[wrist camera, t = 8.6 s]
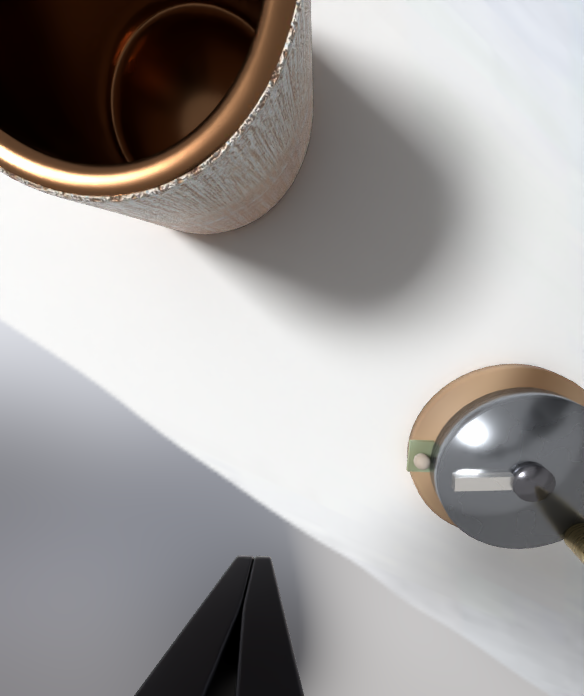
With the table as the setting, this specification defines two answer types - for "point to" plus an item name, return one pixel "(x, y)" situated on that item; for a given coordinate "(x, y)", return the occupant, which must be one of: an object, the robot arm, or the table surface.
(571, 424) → the dial
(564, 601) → the table surface
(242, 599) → the robot arm
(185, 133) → the planter
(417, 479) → the stand
